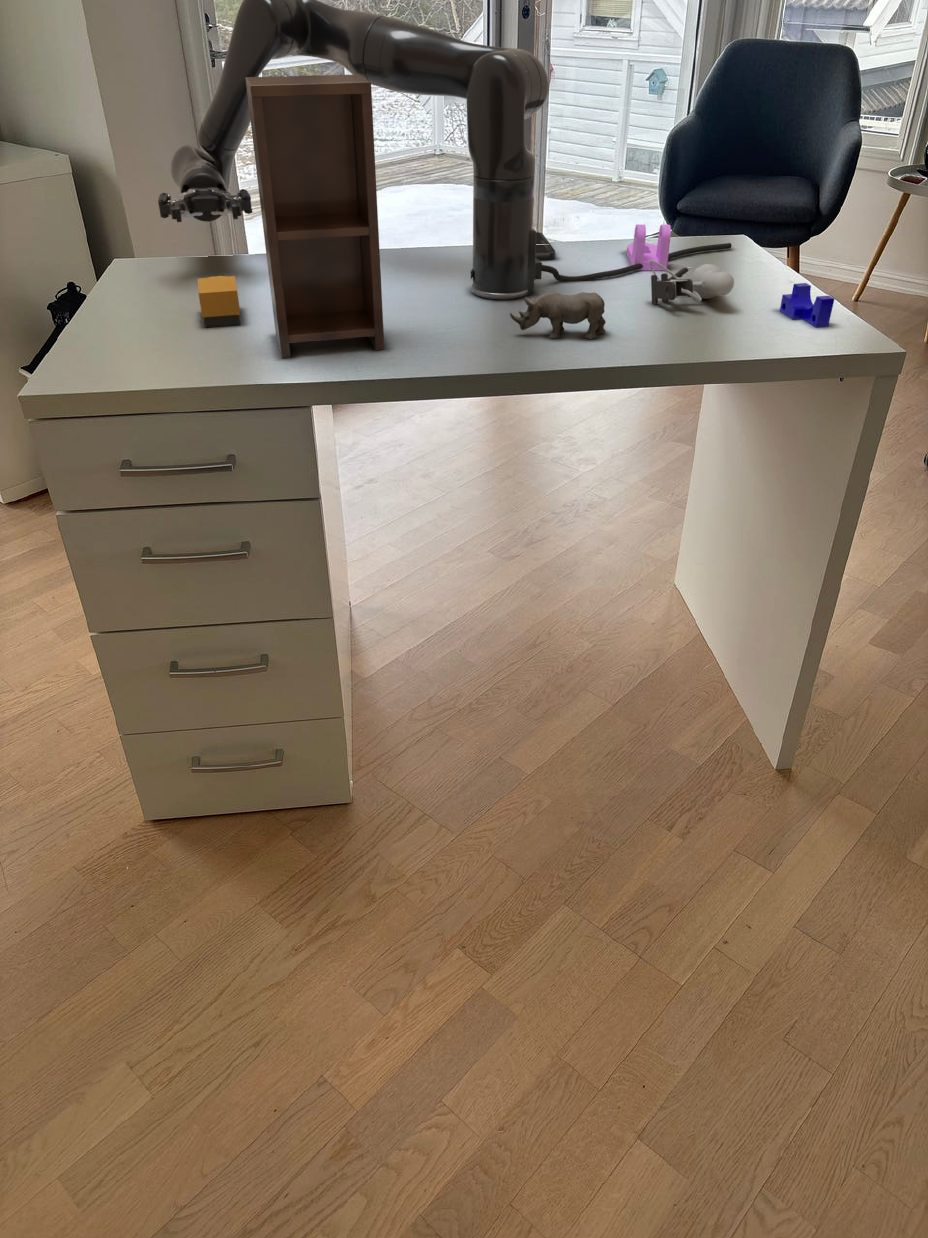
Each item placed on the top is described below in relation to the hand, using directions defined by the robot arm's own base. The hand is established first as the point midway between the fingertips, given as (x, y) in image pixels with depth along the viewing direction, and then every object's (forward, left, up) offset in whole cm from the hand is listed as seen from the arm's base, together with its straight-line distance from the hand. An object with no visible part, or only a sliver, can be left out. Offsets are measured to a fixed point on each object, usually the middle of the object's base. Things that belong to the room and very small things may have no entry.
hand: (206, 213), depth 143 cm
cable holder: (-84, +36, -12) cm, 92 cm away
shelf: (-14, +29, -12) cm, 34 cm away
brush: (0, +9, -12) cm, 15 cm away
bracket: (-74, 0, -12) cm, 75 cm away
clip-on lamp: (-71, +22, -12) cm, 75 cm away
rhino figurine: (-46, +34, -12) cm, 58 cm away
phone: (-56, -12, -12) cm, 59 cm away
